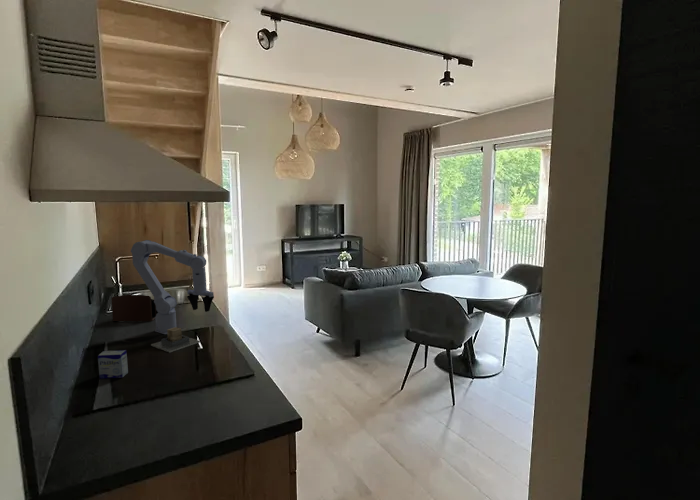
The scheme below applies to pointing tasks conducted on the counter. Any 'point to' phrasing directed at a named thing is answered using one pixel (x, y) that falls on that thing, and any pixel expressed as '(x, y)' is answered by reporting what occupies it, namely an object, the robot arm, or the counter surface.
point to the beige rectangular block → (174, 334)
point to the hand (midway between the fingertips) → (201, 310)
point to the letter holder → (133, 308)
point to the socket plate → (174, 344)
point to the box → (112, 364)
